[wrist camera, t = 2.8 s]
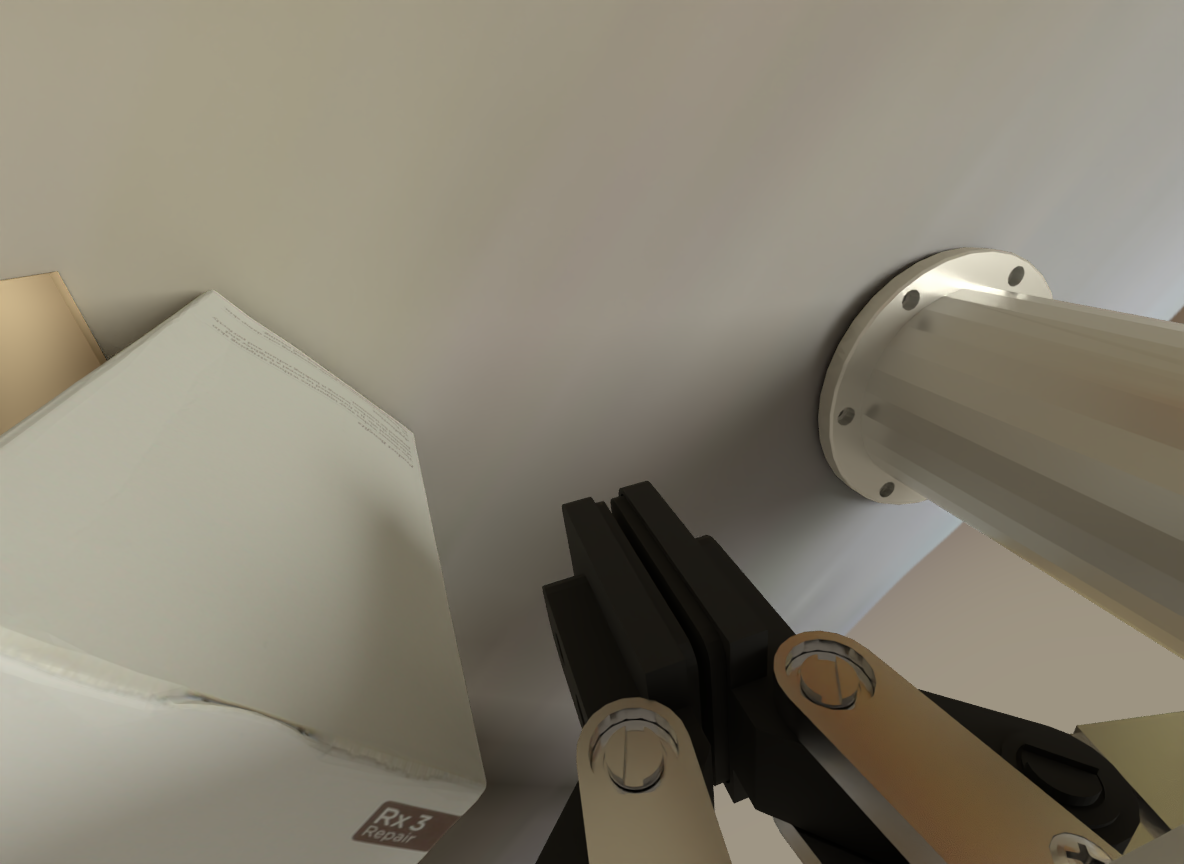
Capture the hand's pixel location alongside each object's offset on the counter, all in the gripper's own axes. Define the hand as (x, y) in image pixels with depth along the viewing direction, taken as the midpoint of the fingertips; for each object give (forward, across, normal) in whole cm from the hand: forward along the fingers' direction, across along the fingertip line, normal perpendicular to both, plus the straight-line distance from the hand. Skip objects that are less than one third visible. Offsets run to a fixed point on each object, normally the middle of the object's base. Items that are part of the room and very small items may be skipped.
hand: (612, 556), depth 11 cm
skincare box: (+12, +8, 0) cm, 15 cm away
